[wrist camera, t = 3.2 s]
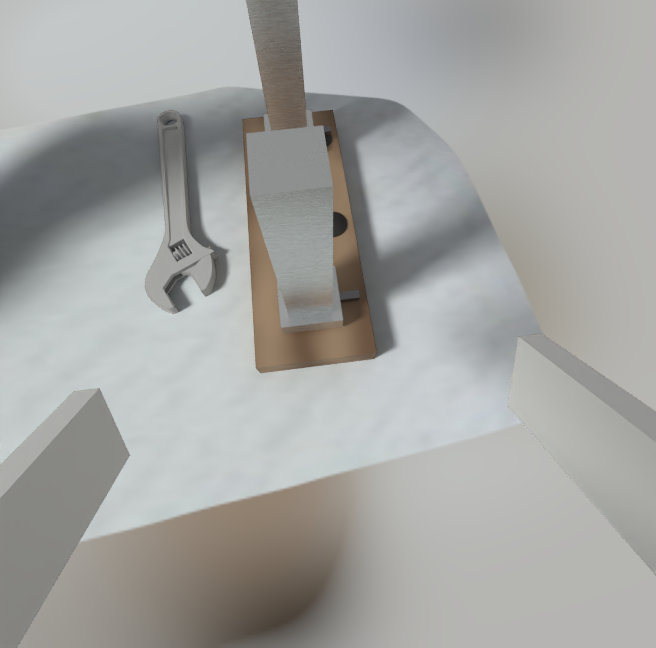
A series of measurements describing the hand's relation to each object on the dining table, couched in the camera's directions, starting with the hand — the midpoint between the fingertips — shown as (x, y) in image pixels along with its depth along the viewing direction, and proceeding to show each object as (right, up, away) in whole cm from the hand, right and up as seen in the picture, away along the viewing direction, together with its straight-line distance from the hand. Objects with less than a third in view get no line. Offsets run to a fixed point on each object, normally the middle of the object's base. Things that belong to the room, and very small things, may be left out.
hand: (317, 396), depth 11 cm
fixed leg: (-3, +22, +25) cm, 34 cm away
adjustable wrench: (-15, +15, +26) cm, 33 cm away
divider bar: (-2, +12, +24) cm, 27 cm away
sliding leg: (0, +4, +19) cm, 19 cm away
